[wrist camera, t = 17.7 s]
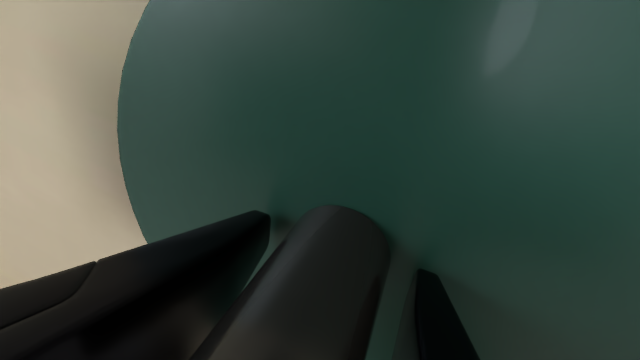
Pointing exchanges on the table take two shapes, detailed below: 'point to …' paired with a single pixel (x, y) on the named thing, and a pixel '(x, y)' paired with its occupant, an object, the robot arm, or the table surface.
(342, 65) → the pot lid
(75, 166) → the table surface
